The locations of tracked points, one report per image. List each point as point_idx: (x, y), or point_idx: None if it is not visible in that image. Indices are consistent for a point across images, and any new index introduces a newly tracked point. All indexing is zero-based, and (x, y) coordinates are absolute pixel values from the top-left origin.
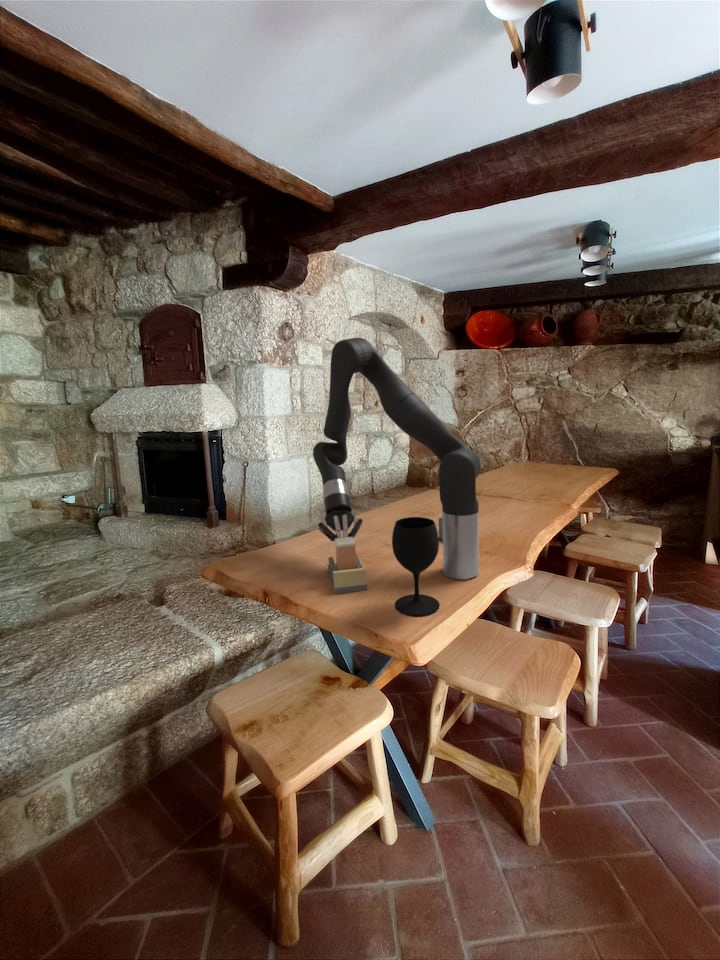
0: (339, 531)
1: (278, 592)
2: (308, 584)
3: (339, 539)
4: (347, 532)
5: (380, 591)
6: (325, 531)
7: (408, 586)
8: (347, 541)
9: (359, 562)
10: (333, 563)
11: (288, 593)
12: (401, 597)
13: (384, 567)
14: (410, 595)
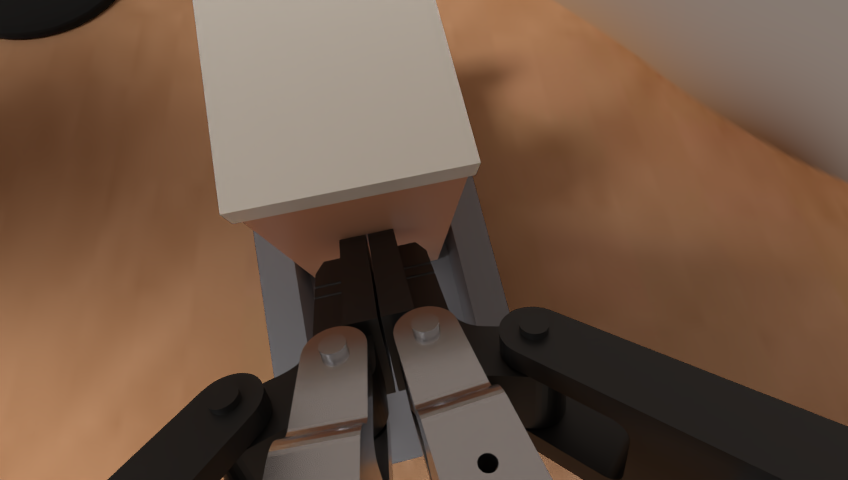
0: (437, 401)
1: (722, 118)
2: (592, 200)
3: (407, 119)
4: (297, 410)
5: (188, 94)
6: (691, 365)
7: (23, 140)
8: (293, 35)
9: (264, 276)
10: (471, 271)
11: (666, 104)
12: (88, 1)
13: (114, 441)
14: (37, 12)
